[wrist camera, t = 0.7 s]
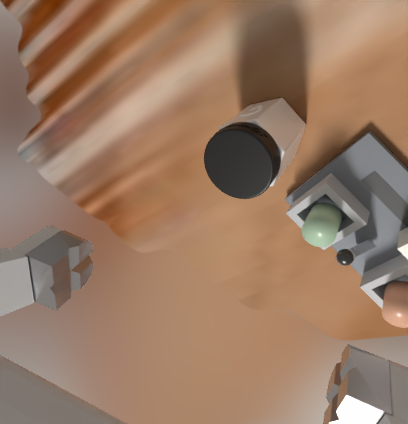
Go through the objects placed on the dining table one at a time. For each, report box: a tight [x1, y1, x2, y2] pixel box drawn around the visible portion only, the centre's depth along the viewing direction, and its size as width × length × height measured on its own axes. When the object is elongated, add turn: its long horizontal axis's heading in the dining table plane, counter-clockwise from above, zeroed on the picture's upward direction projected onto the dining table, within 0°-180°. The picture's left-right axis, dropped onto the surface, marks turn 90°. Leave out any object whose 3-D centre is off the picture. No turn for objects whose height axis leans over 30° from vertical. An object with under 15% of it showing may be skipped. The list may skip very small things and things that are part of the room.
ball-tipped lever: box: [335, 239, 376, 265], centre depth 45 cm, size 2×2×7 cm
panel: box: [285, 130, 408, 308], centre depth 45 cm, size 14×22×4 cm, turn 54°
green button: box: [302, 203, 342, 247], centre depth 44 cm, size 4×4×4 cm
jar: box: [204, 98, 306, 199], centre depth 43 cm, size 9×8×12 cm
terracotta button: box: [382, 281, 408, 328], centre depth 45 cm, size 4×4×4 cm
